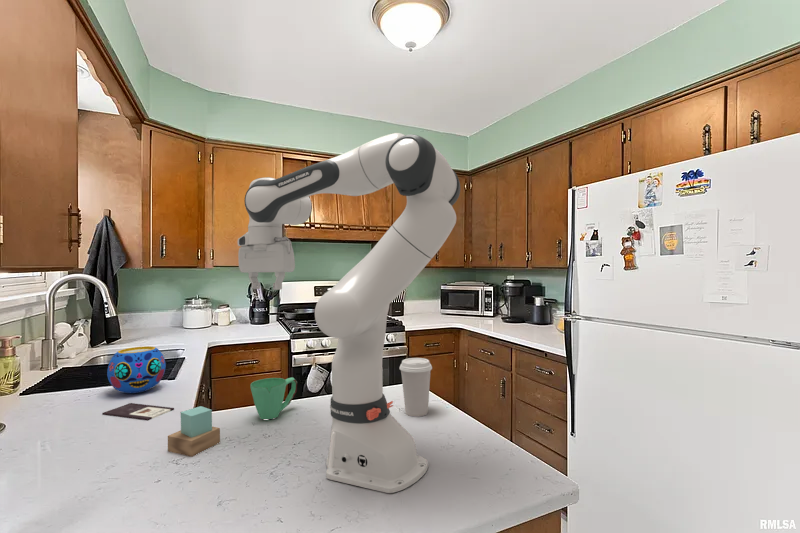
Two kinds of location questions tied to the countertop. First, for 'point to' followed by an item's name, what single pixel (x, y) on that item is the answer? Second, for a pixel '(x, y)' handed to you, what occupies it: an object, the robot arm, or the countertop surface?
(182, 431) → the teal cube
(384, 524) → the countertop surface
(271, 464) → the countertop surface
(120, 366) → the ceramic pot
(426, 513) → the countertop surface
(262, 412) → the mug
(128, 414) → the chocolate bar
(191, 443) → the walnut slab
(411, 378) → the coffee cup
